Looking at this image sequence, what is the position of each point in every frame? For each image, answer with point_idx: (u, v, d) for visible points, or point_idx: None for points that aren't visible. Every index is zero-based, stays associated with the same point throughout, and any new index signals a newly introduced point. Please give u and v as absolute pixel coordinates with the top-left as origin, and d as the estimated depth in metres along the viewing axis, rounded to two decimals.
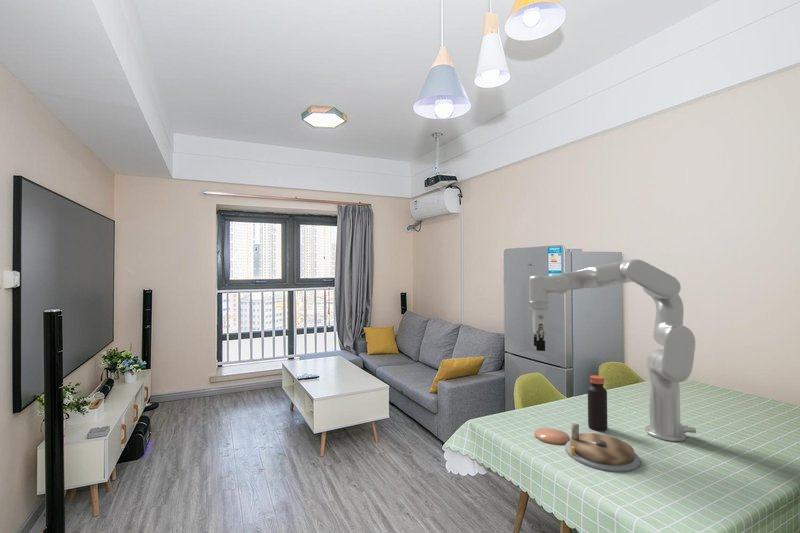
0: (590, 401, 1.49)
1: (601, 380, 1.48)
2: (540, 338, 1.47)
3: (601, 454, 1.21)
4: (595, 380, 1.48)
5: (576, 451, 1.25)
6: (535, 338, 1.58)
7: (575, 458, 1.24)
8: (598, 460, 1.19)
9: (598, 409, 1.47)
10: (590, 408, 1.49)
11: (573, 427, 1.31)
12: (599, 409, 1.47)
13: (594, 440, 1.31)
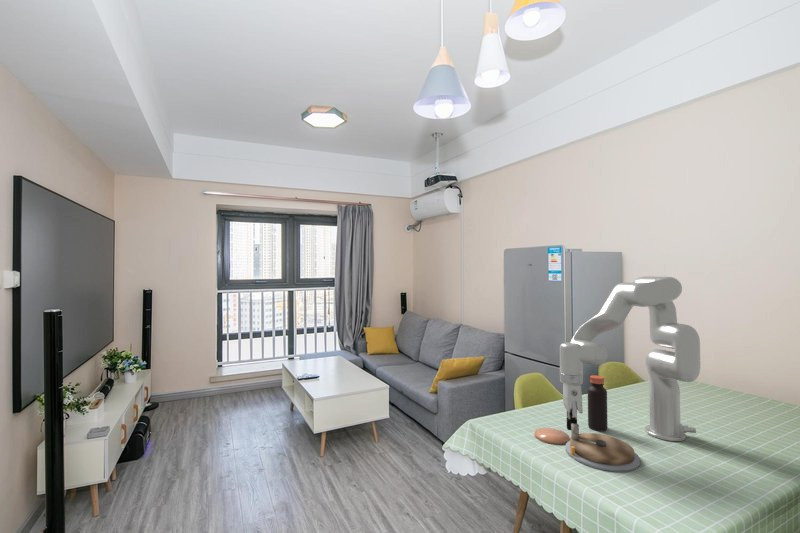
0: (590, 401, 1.49)
1: (601, 380, 1.48)
2: (571, 417, 1.33)
3: (602, 454, 1.21)
4: (595, 380, 1.48)
5: (576, 451, 1.25)
6: None
7: (575, 458, 1.24)
8: (599, 460, 1.19)
9: (598, 409, 1.47)
10: (590, 408, 1.49)
11: (573, 427, 1.31)
12: (599, 409, 1.47)
13: (594, 440, 1.31)
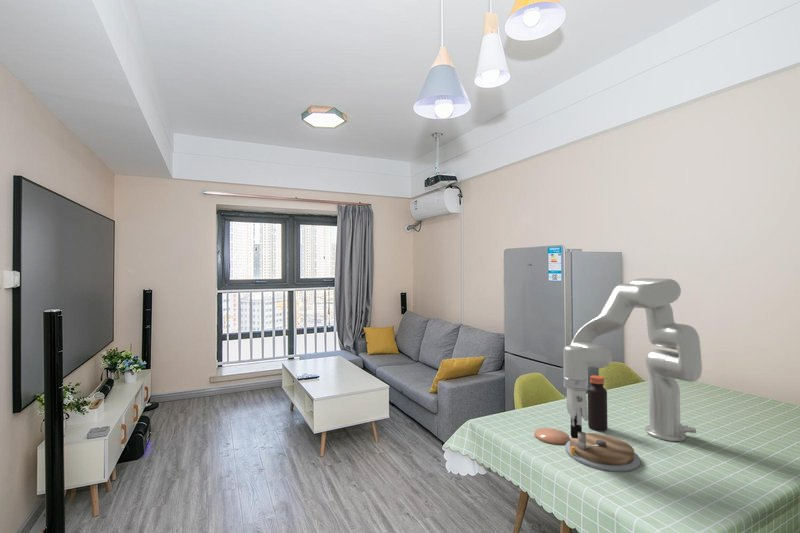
0: (590, 401, 1.49)
1: (601, 380, 1.48)
2: (576, 424, 1.26)
3: (623, 454, 1.21)
4: (595, 380, 1.48)
5: (603, 461, 1.19)
6: None
7: (575, 458, 1.24)
8: (627, 461, 1.19)
9: (598, 409, 1.47)
10: (590, 408, 1.49)
11: (583, 436, 1.24)
12: (599, 409, 1.47)
13: (589, 442, 1.29)
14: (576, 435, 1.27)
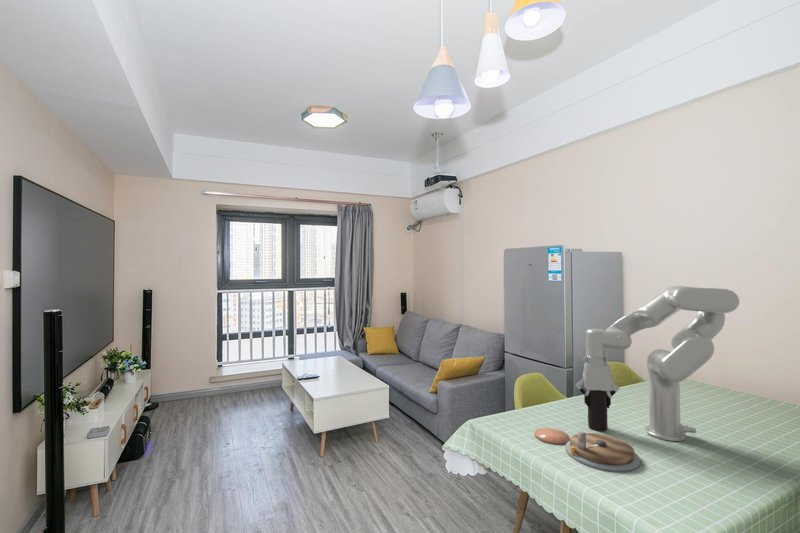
0: (590, 401, 1.49)
1: None
2: (581, 391, 1.52)
3: (623, 454, 1.21)
4: None
5: (603, 461, 1.19)
6: None
7: (575, 458, 1.24)
8: (627, 461, 1.19)
9: (598, 409, 1.47)
10: (590, 408, 1.49)
11: (583, 436, 1.24)
12: (599, 409, 1.47)
13: (589, 442, 1.29)
14: None
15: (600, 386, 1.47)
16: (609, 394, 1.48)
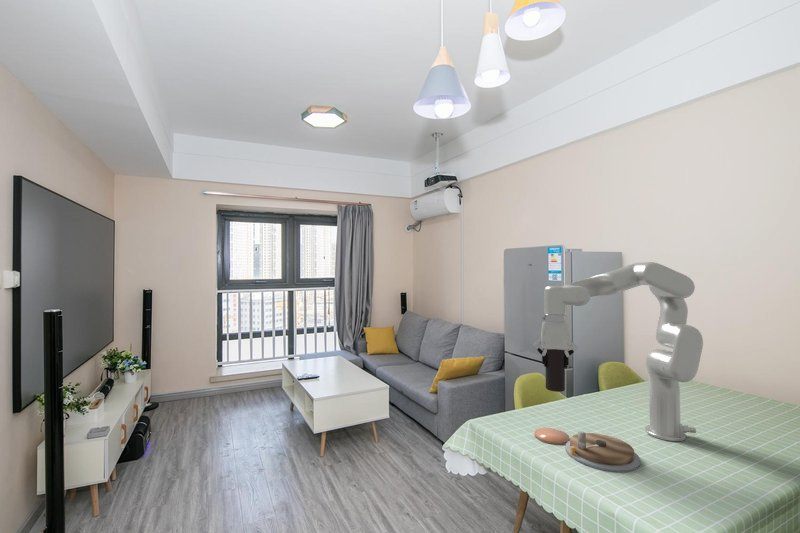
0: (547, 361, 1.42)
1: None
2: (538, 351, 1.45)
3: (623, 454, 1.21)
4: None
5: (603, 461, 1.19)
6: None
7: (575, 458, 1.24)
8: (627, 461, 1.19)
9: (555, 369, 1.40)
10: (547, 368, 1.42)
11: (583, 436, 1.24)
12: (555, 368, 1.40)
13: (589, 442, 1.29)
14: (542, 362, 1.44)
15: (557, 345, 1.40)
16: (567, 353, 1.41)
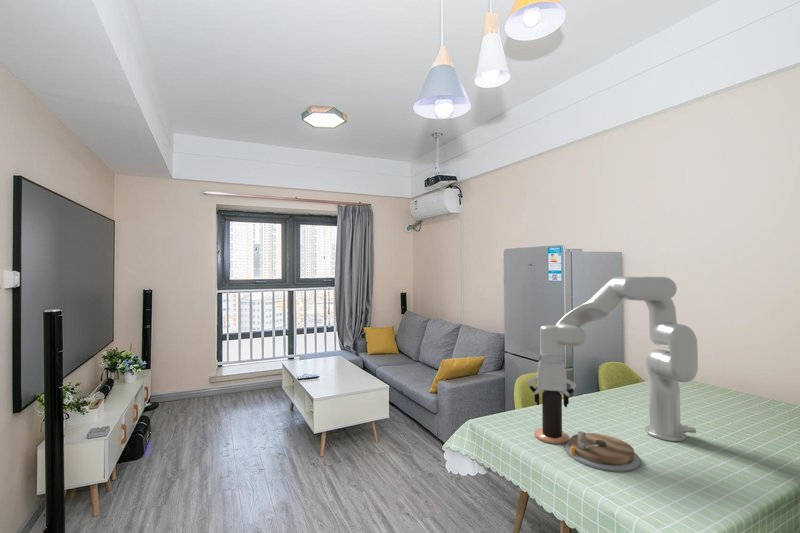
0: (544, 406, 1.40)
1: None
2: (531, 389, 1.44)
3: (623, 454, 1.21)
4: None
5: (603, 461, 1.19)
6: (563, 396, 1.42)
7: (575, 458, 1.24)
8: (627, 461, 1.19)
9: (552, 415, 1.38)
10: (544, 413, 1.40)
11: (583, 436, 1.24)
12: (552, 415, 1.38)
13: (589, 442, 1.29)
14: None
15: (553, 386, 1.39)
16: (567, 392, 1.39)
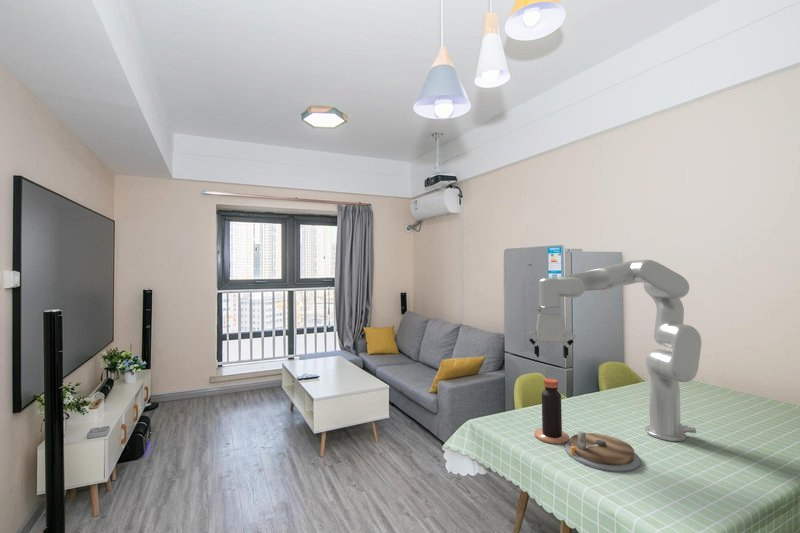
0: (543, 406, 1.40)
1: (555, 384, 1.39)
2: (531, 342, 1.44)
3: (623, 454, 1.21)
4: (548, 384, 1.40)
5: (603, 461, 1.19)
6: (563, 348, 1.42)
7: (575, 458, 1.24)
8: (627, 461, 1.19)
9: (551, 415, 1.38)
10: (544, 413, 1.40)
11: (583, 436, 1.24)
12: (552, 414, 1.38)
13: (589, 442, 1.29)
14: (534, 352, 1.44)
15: (553, 337, 1.39)
16: (566, 343, 1.40)
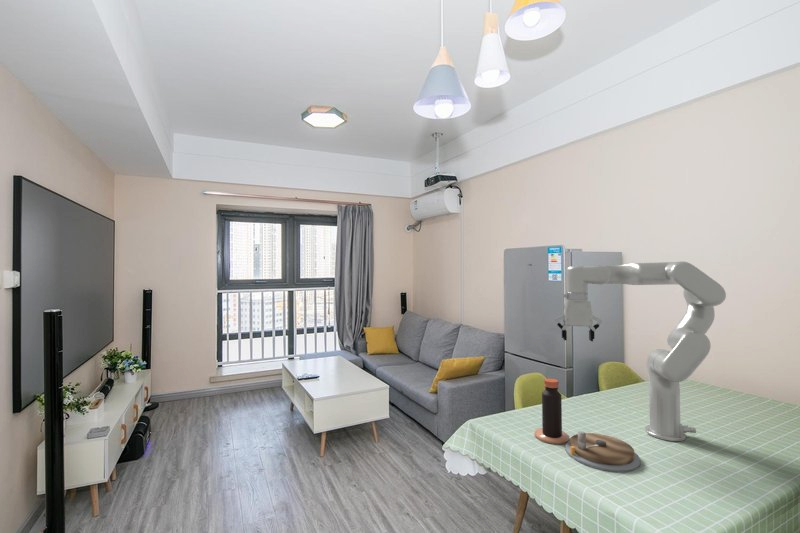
0: (544, 406, 1.40)
1: (555, 384, 1.39)
2: None
3: (623, 454, 1.21)
4: (549, 384, 1.40)
5: (603, 461, 1.19)
6: (589, 332, 1.51)
7: (575, 458, 1.24)
8: (627, 461, 1.19)
9: (551, 415, 1.38)
10: (544, 413, 1.40)
11: (583, 436, 1.24)
12: (552, 414, 1.38)
13: (589, 442, 1.29)
14: (562, 336, 1.53)
15: (580, 321, 1.48)
16: (593, 327, 1.49)
